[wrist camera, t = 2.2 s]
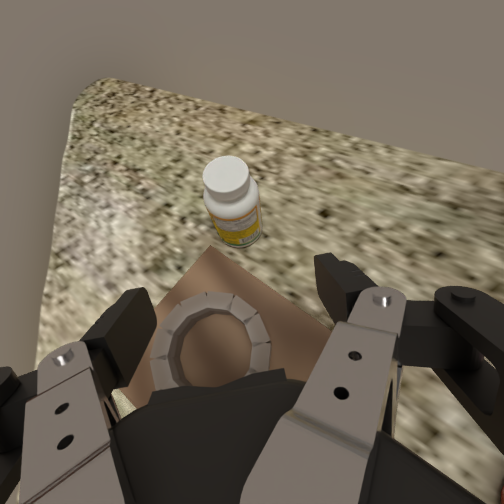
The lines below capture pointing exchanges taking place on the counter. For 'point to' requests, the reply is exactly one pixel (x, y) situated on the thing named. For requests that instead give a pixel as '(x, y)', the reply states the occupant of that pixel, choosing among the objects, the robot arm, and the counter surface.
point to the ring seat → (224, 332)
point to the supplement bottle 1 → (232, 201)
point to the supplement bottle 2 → (502, 496)
